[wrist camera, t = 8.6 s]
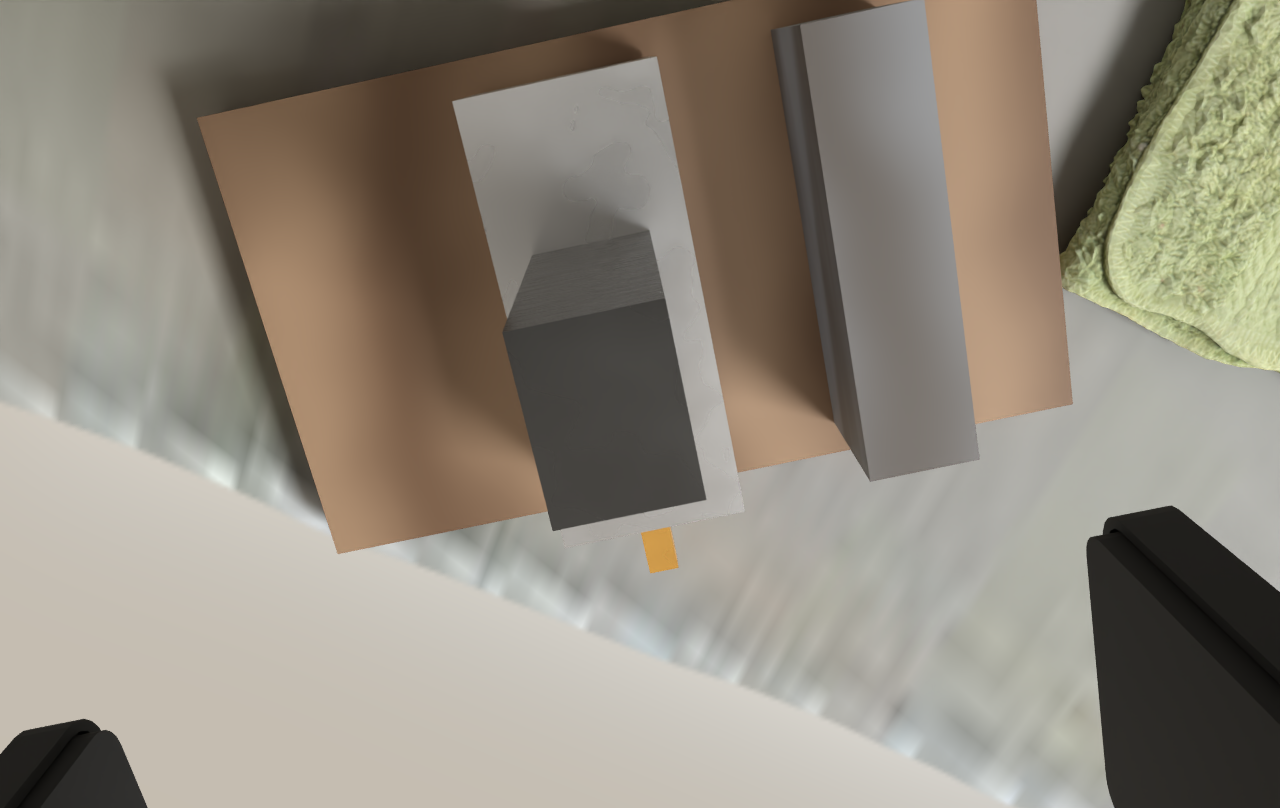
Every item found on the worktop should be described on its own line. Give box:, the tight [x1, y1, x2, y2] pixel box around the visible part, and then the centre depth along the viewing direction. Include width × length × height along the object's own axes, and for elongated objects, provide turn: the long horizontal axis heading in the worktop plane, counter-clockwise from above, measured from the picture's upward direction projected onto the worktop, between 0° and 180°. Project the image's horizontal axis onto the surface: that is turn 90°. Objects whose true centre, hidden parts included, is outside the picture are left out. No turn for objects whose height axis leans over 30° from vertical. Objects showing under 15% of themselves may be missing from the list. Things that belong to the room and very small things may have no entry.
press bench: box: [197, 0, 1073, 554], centre depth 31 cm, size 24×14×7 cm, turn 102°
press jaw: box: [452, 56, 745, 573], centre depth 27 cm, size 5×13×13 cm, turn 12°
